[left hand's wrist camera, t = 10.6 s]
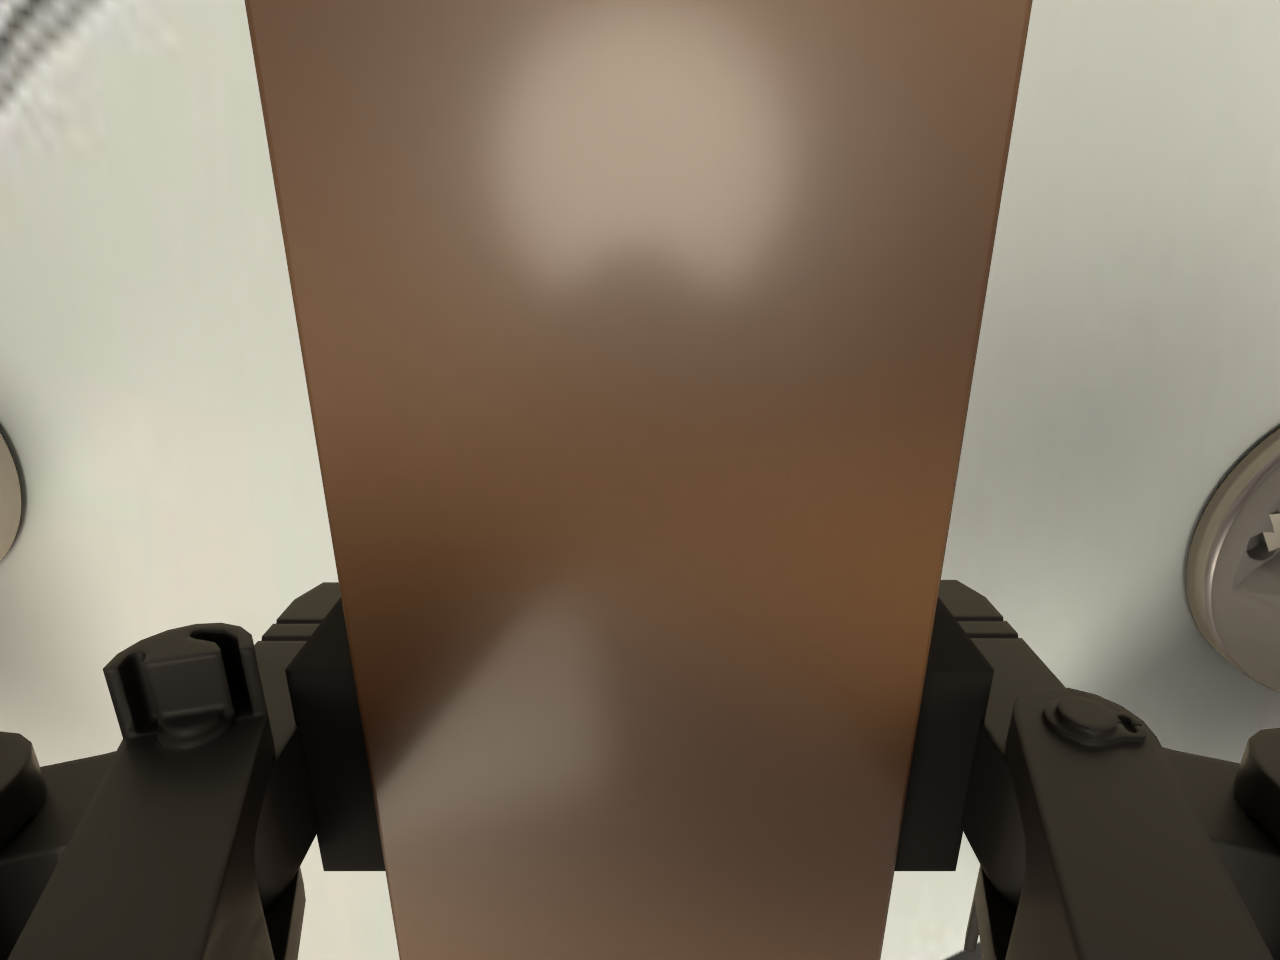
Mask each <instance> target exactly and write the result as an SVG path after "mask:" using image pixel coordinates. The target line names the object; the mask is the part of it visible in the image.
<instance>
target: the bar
mask: <svg viewBox="0 0 1280 960" xmlns="http://www.w3.org/2000/svg"><path fill="white" fill-rule="evenodd" d="M245 5H246V11H247V17H248V24H249V30H250V36H251V42H252V48H253V55H254V61H255V67H256V73H257V79H258V85H259V92H260V98H261V104H262V110H263V116H264V123H265V129H266V135H267V141H268V147H269V153H270V160H271V166H272V172H273V178H274V184H275V191H276V197H277V203H278V209H279V215H280V221H281V228H282V234H283V240H284V246H285V252H286V259H287V265H288V271H289V277H290V283H291V289H292V296H293V302H294V308H295V314H296V320H297V327H298V333H299V339H300V345H301V351H302V357H303V364H304V370H305V376H306V382H307V388H308V395H309V401H310V407H311V413H312V419H313V425H314V432H315V438H316V444H317V450H318V456H319V463H320V469H321V475H322V481H323V487H324V493H325V500H326V506H327V512H328V518H329V524H330V531H331V537H332V543H333V549H334V555H335V561H336V568H337V574H338V580H339V586H340V592H341V599H342V605H343V611H344V617H345V623H346V629H347V636H348V642H349V648H350V654H351V660H352V667H353V673H354V679H355V685H356V691H357V697H358V704H359V710H360V716H361V722H362V728H363V735H364V741H365V747H366V753H367V759H368V765H369V772H370V778H371V784H372V790H373V796H374V803H375V809H376V815H377V821H378V827H379V833H380V840H381V846H382V852H383V858H384V864H385V871H386V877H387V883H388V889H389V895H390V901H391V908H392V914H393V920H394V926H395V932H396V938H397V945H398V951H399V957H400V960H880V958H881V951H882V945H883V939H884V933H885V926H886V920H887V914H888V907H889V901H890V895H891V888H892V882H893V876H894V870H895V863H896V857H897V851H898V844H899V838H900V832H901V825H902V819H903V813H904V807H905V800H906V794H907V788H908V781H909V775H910V769H911V762H912V756H913V750H914V744H915V737H916V731H917V725H918V718H919V712H920V706H921V699H922V693H923V687H924V681H925V674H926V668H927V662H928V655H929V649H930V643H931V636H932V630H933V624H934V618H935V611H936V605H937V599H938V592H939V586H940V580H941V573H942V567H943V561H944V555H945V548H946V542H947V536H948V529H949V523H950V517H951V510H952V504H953V498H954V492H955V485H956V479H957V473H958V466H959V460H960V454H961V447H962V441H963V435H964V429H965V422H966V416H967V410H968V403H969V397H970V391H971V384H972V378H973V372H974V366H975V359H976V353H977V347H978V340H979V334H980V328H981V321H982V315H983V309H984V303H985V296H986V290H987V284H988V277H989V271H990V265H991V258H992V252H993V246H994V240H995V233H996V227H997V221H998V214H999V208H1000V202H1001V195H1002V189H1003V183H1004V177H1005V170H1006V164H1007V158H1008V151H1009V145H1010V139H1011V132H1012V126H1013V120H1014V114H1015V107H1016V101H1017V95H1018V88H1019V82H1020V76H1021V69H1022V63H1023V57H1024V51H1025V44H1026V38H1027V32H1028V25H1029V19H1030V13H1031V6H1032V0H245Z"/></svg>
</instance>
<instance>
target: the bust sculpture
mask: <svg viewBox="0 0 1280 960" xmlns="http://www.w3.org/2000/svg"><path fill="white" fill-rule="evenodd" d="M20 516H21V491H20V484H19V479H18V475H17V471H16V467H15V464H14V461H13V459H12V456H11V454H10V451H9V449H8V447H7V445H6V443H5V441H4V439H3V437H2V435H1V433H0V561H1V560H2V559H3V558H4V556H5V555H6V553H7V552H8V550H9V549H10V547H11V545H12V543H13V541H14V539H15V536H16V533H17V530H18V526H19V522H20Z"/></svg>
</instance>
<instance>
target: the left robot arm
mask: <svg viewBox="0 0 1280 960" xmlns="http://www.w3.org/2000/svg"><path fill="white" fill-rule="evenodd" d="M1186 590H1187V596H1188V603H1189V606H1190V610H1191V613H1192V616H1193V618H1194V620H1195V623H1196V625H1197V627H1198V629H1199V630H1200V632H1201V633H1202V635H1203V637H1204V638H1205V639H1206V640H1207V641H1208V643H1209V644H1210V645H1211V646H1212V647H1213V648H1214V649H1215V650H1216V651H1217V652H1218V653H1219V654H1220V655H1222V656H1223V657H1224V658H1226V659H1227V660H1228V661H1229V662H1231V663H1232V664H1233V665H1235V666H1236V667H1237V668H1239V669H1240V670H1241V671H1242V672H1244V673H1245V674H1246V675H1248V676H1249V677H1251V678H1252V679H1253V680H1255V681H1257V682H1259V683H1260V684H1262V685H1264V686H1266V687H1268V688H1271V689H1273V690H1275V691H1277V692H1279V693H1280V428H1279V429H1278V430H1277V431H1275V432H1274V433H1273V434H1271V435H1270V436H1268V437H1267V438H1266V439H1265V440H1264V441H1262V442H1261V443H1260V444H1259V445H1258V446H1257V447H1255V448H1254V449H1253V450H1252V451H1251V452H1250V453H1249V454H1248V455H1247V456H1246V457H1245V458H1244V459H1243V460H1242V461H1241V462H1240V463H1239V464H1238V465H1237V466H1236V467H1235V468H1234V470H1233V471H1232V472H1231V473H1230V474H1229V475H1228V476H1227V478H1226V479H1225V480H1224V482H1223V483H1222V484H1221V486H1220V487H1219V488H1218V490H1217V491H1216V493H1215V494H1214V496H1213V497H1212V499H1211V501H1210V502H1209V504H1208V506H1207V507H1206V509H1205V511H1204V513H1203V515H1202V517H1201V519H1200V521H1199V524H1198V526H1197V529H1196V531H1195V534H1194V537H1193V540H1192V543H1191V547H1190V551H1189V556H1188V561H1187V571H1186ZM103 671H104V675H105V678H106V681H107V685H108V688H109V692H110V695H111V698H112V702H113V705H114V709H115V712H116V715H117V719H118V722H119V726H120V729H121V732H122V736H123V740H122V742H121V744H120V746H119V748H118V750H117V751H115V752H111V753H107V754H103V755H98V756H93V757H88V758H83V759H78V760H73V761H68V762H63V763H58V764H53V765H49V766H44V767H40V766H39V763H38V760H37V757H36V755H35V752H34V749H33V746H32V743H31V742H30V741H29V740H27V739H26V738H25V737H23V736H22V735H21V734H18V733H9V732H0V960H297V958H298V951H299V944H300V937H301V930H302V922H303V915H304V908H305V901H306V899H305V891H304V883H303V879H302V874H301V869H300V865H301V863H302V861H303V859H304V857H305V855H306V853H307V851H308V850H309V848H310V846H311V844H312V842H313V840H314V838H315V836H316V834H317V838H318V843H319V848H320V853H321V858H322V863H323V869H324V871H385V864H384V858H383V852H382V846H381V840H380V833H379V827H378V821H377V815H376V809H375V803H374V796H373V790H372V784H371V778H370V772H369V765H368V759H367V753H366V747H365V741H364V735H363V728H362V722H361V716H360V710H359V704H358V697H357V691H356V685H355V679H354V673H353V667H352V660H351V654H350V648H349V642H348V636H347V629H346V623H345V617H344V611H343V605H342V599H341V592H340V586H339V583H322V584H320V585H318V586H317V587H315V588H313V589H312V590H310V591H308V592H307V593H305V594H303V595H302V596H300V597H298V598H297V599H295V600H294V601H293V602H292V603H291V604H290V605H289V606H288V608H287V609H286V610H285V611H284V612H283V613H282V614H281V616H280V617H279V618H278V619H277V623H276V624H273V625H272V626H271V627H270V628H269V629H268V630H267V631H266V633H265V634H264V635H263V636H262V641H258V642H257V643H256V644H255V645H254V644H253V639H252V635H251V634H250V633H248V632H247V631H246V630H244V629H243V628H242V627H240V626H235V625H230V624H224V623H208V624H194V625H190V626H185V627H180V628H176V629H171V630H167V631H165V632H162V633H159V634H157V635H154V636H151V637H149V638H146V639H143V640H141V641H139V642H137V643H136V644H134V645H132V646H130V647H129V648H127V649H125V650H124V651H122V652H120V653H118V654H117V655H116V656H115V657H114V658H113V659H112V660H111V661H110V662H109V663H108V664H107V665H106V666H105V667H104V668H103ZM963 831H964V833H965V835H966V837H967V839H968V841H969V843H970V845H971V847H972V849H973V851H974V853H975V855H976V857H977V858H978V860H979V862H980V869H979V874H978V879H977V883H976V888H975V893H974V898H973V903H972V907H971V912H970V917H969V922H968V926H967V931H966V938H965V946H964V950H967V951H971V952H975V949H976V944H977V940H978V935H980V942H981V949H982V957H983V960H1280V728H1275V729H1266V730H1260V731H1259V732H1258V733H1256V734H1255V735H1253V736H1252V737H1251V738H1249V741H1248V743H1247V746H1246V749H1245V752H1244V755H1243V758H1242V761H1241V764H1239V763H1234V762H1229V761H1224V760H1219V759H1214V758H1209V757H1204V756H1199V755H1194V754H1189V753H1184V752H1179V751H1174V750H1170V749H1167V748H1163V747H1162V746H1161V744H1160V742H1159V741H1158V739H1157V737H1156V736H1155V735H1154V733H1153V732H1152V731H1151V730H1150V729H1149V727H1148V726H1147V725H1146V724H1145V723H1144V721H1142V720H1141V719H1139V718H1138V717H1137V716H1135V715H1134V714H1132V713H1131V712H1129V711H1128V710H1126V709H1125V708H1124V707H1122V706H1120V705H1118V704H1116V703H1113V702H1111V701H1109V700H1106V699H1104V698H1102V697H1100V696H1097V695H1095V694H1091V693H1087V692H1083V691H1079V690H1075V689H1071V688H1065V687H1064V685H1063V684H1062V683H1061V682H1060V681H1059V680H1058V679H1057V678H1056V676H1055V675H1054V674H1053V673H1052V672H1051V671H1050V670H1049V668H1048V667H1047V666H1046V665H1045V664H1044V663H1043V662H1042V661H1041V659H1040V658H1039V657H1038V656H1037V655H1036V654H1035V653H1034V652H1033V650H1032V649H1031V648H1030V647H1029V646H1028V645H1027V644H1026V642H1025V641H1024V640H1023V639H1022V638H1018V633H1017V632H1016V631H1015V630H1014V629H1013V628H1012V627H1011V626H1010V624H1009V623H1008V622H1007V621H1003V617H1002V615H1001V614H1000V613H999V612H998V611H997V610H996V609H995V607H994V606H993V605H992V604H991V603H990V602H989V601H988V600H987V598H986V597H984V596H983V595H981V594H979V593H977V592H976V591H974V590H972V589H971V588H969V587H967V586H966V585H964V584H962V583H960V582H959V581H957V580H940V586H939V592H938V599H937V605H936V611H935V618H934V624H933V630H932V636H931V643H930V649H929V655H928V662H927V668H926V674H925V681H924V687H923V693H922V699H921V706H920V712H919V718H918V725H917V731H916V737H915V744H914V750H913V756H912V762H911V769H910V775H909V781H908V788H907V794H906V800H905V807H904V813H903V819H902V825H901V832H900V838H899V844H898V851H897V857H896V863H895V870H894V871H955V870H956V865H957V860H958V855H959V850H960V845H961V840H962V834H963Z"/></svg>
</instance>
